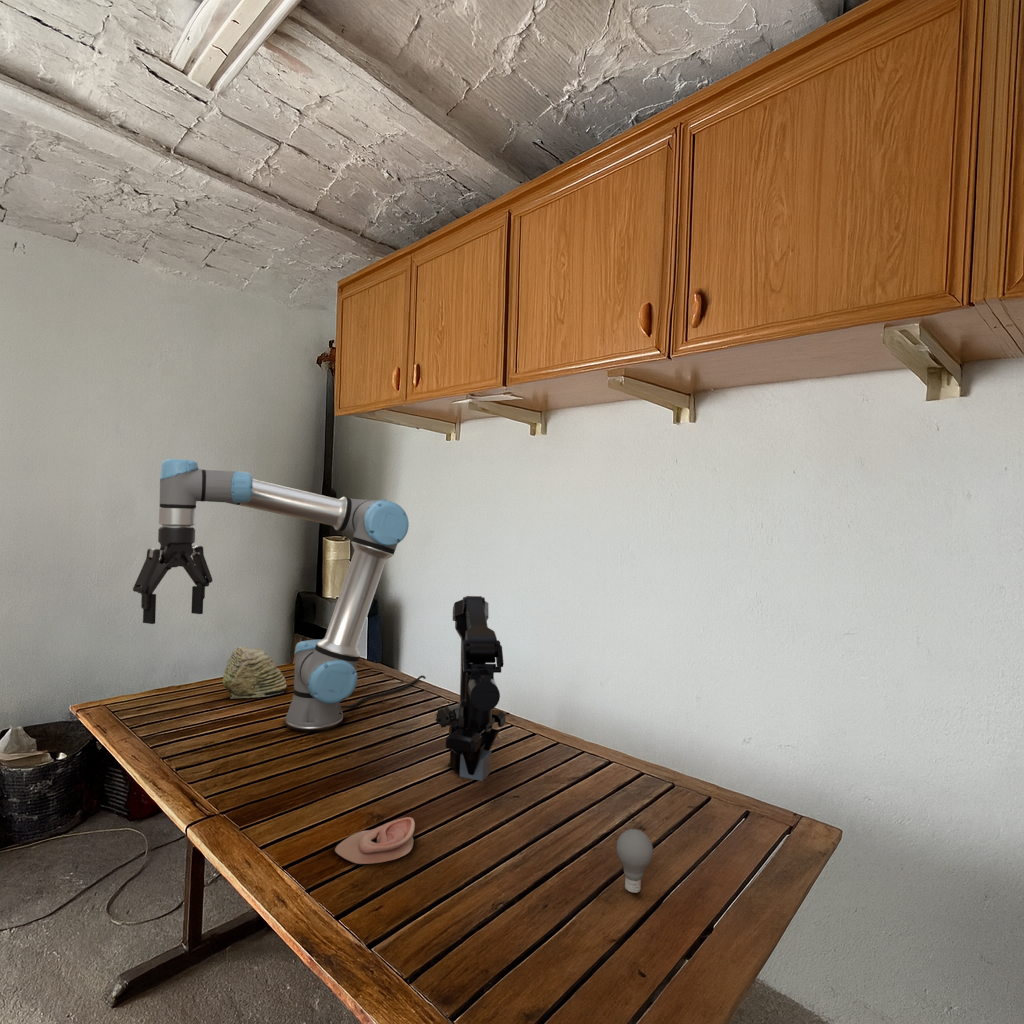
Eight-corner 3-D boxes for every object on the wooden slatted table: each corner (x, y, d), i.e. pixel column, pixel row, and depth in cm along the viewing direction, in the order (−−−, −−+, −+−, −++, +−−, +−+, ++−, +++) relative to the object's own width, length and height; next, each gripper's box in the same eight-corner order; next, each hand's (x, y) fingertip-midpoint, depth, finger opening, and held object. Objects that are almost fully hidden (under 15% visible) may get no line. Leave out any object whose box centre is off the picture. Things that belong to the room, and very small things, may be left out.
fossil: (218, 695, 195) (220, 647, 195) (278, 685, 208) (279, 640, 207) (228, 703, 189) (230, 653, 188) (289, 692, 201) (290, 645, 201)
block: (468, 768, 135) (469, 746, 134) (490, 772, 133) (491, 751, 133) (459, 776, 130) (460, 754, 130) (482, 781, 129) (483, 758, 129)
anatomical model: (327, 836, 111) (356, 806, 122) (326, 858, 111) (355, 826, 122) (398, 848, 108) (421, 815, 119) (397, 871, 108) (420, 836, 119)
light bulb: (610, 879, 108) (613, 822, 108) (644, 879, 109) (647, 822, 109) (619, 902, 102) (622, 840, 102) (655, 901, 103) (658, 840, 103)
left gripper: (205, 524, 159) (202, 608, 159) (116, 527, 135) (112, 625, 136) (230, 525, 157) (226, 611, 157) (143, 528, 133) (139, 629, 133)
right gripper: (461, 678, 143) (458, 747, 143) (423, 702, 125) (419, 780, 125) (507, 685, 139) (504, 756, 139) (475, 710, 121) (471, 791, 122)
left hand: (174, 618), depth 146 cm, fingers open, 13 cm apart
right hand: (475, 769), depth 132 cm, fingers closed on block, 4 cm apart
